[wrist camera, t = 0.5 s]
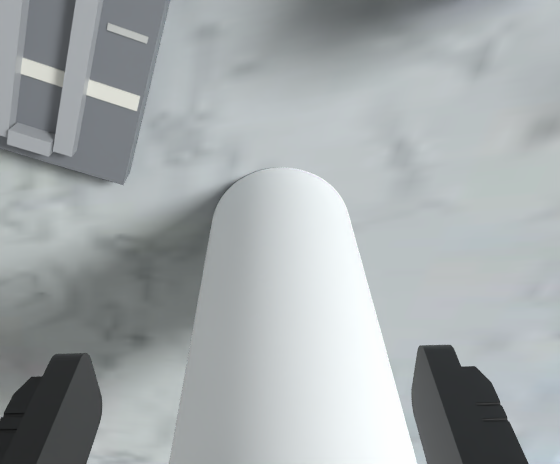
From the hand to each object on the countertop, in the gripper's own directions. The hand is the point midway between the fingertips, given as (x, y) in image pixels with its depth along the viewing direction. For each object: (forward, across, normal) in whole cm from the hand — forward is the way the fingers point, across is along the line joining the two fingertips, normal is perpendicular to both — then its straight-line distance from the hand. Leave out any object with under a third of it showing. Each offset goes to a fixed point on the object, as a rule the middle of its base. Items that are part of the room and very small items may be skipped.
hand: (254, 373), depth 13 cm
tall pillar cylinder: (+26, -1, +12) cm, 29 cm away
